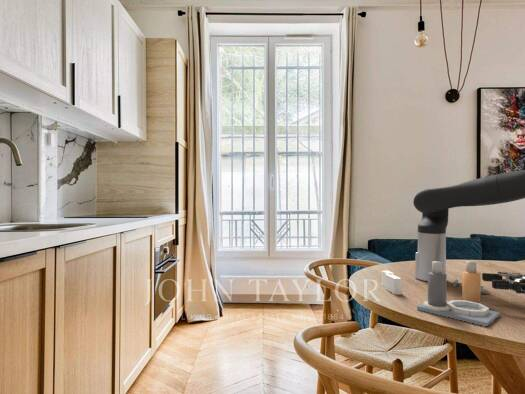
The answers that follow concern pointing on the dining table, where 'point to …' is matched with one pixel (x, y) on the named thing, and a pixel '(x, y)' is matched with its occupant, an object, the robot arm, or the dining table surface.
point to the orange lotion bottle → (471, 283)
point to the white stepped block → (391, 282)
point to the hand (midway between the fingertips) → (487, 280)
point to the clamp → (461, 284)
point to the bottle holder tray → (453, 301)
